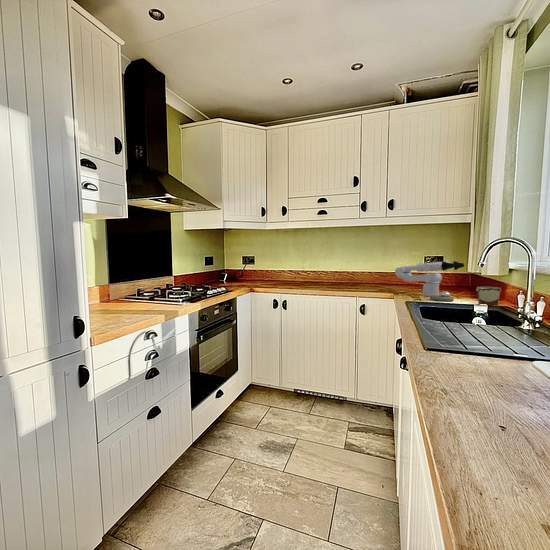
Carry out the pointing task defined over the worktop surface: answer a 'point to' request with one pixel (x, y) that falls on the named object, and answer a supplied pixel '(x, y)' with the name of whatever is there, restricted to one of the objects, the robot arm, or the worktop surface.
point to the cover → (445, 294)
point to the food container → (488, 295)
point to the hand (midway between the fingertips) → (459, 265)
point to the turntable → (441, 298)
